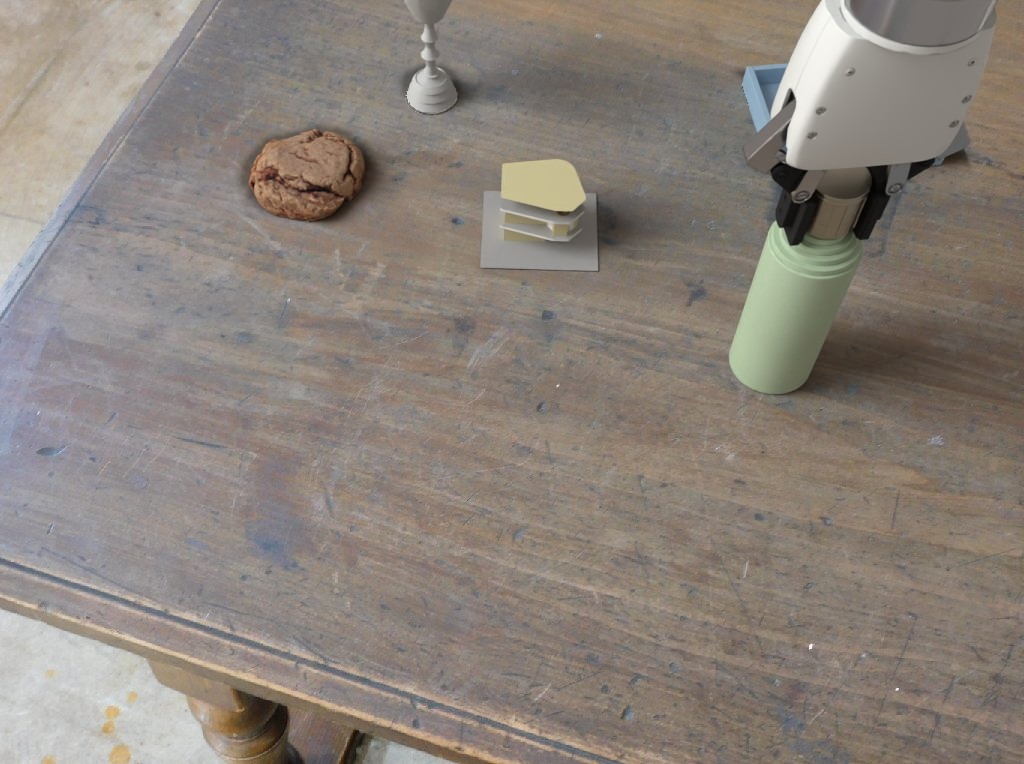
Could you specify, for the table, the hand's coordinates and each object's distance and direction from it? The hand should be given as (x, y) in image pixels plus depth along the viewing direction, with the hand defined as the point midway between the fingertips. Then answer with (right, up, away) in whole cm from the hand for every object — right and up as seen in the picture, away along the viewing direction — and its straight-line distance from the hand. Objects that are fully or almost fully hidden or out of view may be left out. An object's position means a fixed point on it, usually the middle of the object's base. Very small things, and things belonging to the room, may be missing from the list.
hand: (823, 225), depth 72 cm
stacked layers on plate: (-17, +4, +22) cm, 28 cm away
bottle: (+1, -8, +14) cm, 16 cm away
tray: (+12, +15, +27) cm, 33 cm away
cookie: (-37, +9, +26) cm, 46 cm away
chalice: (-26, +19, +31) cm, 45 cm away
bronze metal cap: (0, 0, 0) cm, 1 cm away
